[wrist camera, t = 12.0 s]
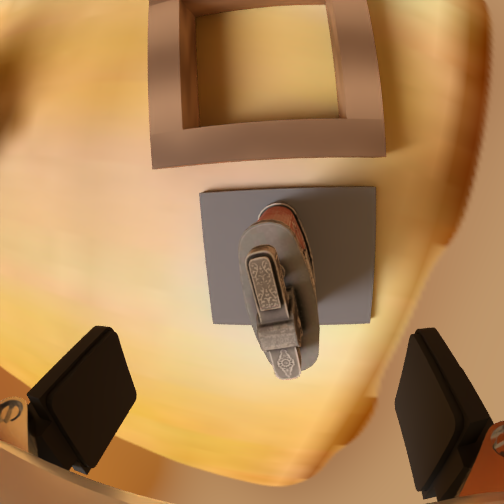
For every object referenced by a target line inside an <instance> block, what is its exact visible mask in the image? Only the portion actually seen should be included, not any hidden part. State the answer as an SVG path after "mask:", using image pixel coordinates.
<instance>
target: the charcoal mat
mask: <svg viewBox="0 0 504 504" xmlns="http://www.w3.org/2000/svg"><path fill="white" fill-rule="evenodd" d="M199 196H200V207H201V218H202V229H203V239H204V249H205V258H206V267H207V276H208V285H209V294H210V302H211V310H212V318H213V324H233V325H252V324H251V322H250V319H249V316H248V314H247V311H246V306H245V301H244V296H243V291H242V286H241V281H240V270H239V257H238V244H239V240H240V238H241V236H242V234H243V233H244V231H245V230H246V229H247V228H248V227H250V226H251V225H252V224H253V223H255V222H257V221H258V216H259V214H260V212H261V211H262V210H263V208H265V207H266V206H267V205H268V204H271V203H273V202H285V203H289V204H290V205H292V206H293V207H294V208H295V210H296V211H297V213H298V215H299V218H300V220H301V222H302V225H303V227H304V229H305V231H306V235H307V238H308V241H309V245H310V248H311V252H312V257H313V264H314V272H315V287H316V295H317V305H318V317H319V325H336V324H364V323H370V317H371V307H372V295H373V281H374V264H375V240H376V187H301V188H273V189H251V190H233V191H217V192H203V193H199Z"/></svg>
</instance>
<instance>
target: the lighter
mask: <svg viewBox="0 0 504 504" xmlns="http://www.w3.org/2000/svg"><path fill="white" fill-rule="evenodd" d="M238 257H239V270H240V281H241V286H242V291H243V296H244V301H245V306H246V311H247V314H248V316H249V319H250V322H251V324H252V327H253V330H254V332H255V335H256V338H257V340H258V342H259V344H260V347H261V349H262V350H263V351H264V353H265V355H266V357H267V359H268V361H269V362H270V363H271V364H272V366H273V369H274V372H275V374H276V376H277V377H278V378H279V379H282V380H289V379H294V378H297V377H299V376H300V374H301V371H303V370H306V369H307V368H309V367H311V366H312V365H313V364H314V363H315V362H316V360H317V357H318V353H319V329H320V328H319V317H318V305H317V295H316V287H315V272H314V264H313V257H312V252H311V248H310V245H309V241H308V238H307V235H306V231H305V229H304V227H303V225H302V222H301V220H300V218H299V215H298V213H297V211H296V210H295V208H294V207H293V206H292V205H290V204H289V203H285V202H273V203H271V204H268V205H267V206H266V207H265V208H263V210H262V211H261V212H260V214H259V216H258V221H257V222H255V223H253V224H252V225H251V226H250V227H248V228H247V229H246V230H245V231H244V233H243V234H242V236H241V238H240V240H239V244H238Z"/></svg>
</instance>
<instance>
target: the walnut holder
mask: <svg viewBox="0 0 504 504" xmlns="http://www.w3.org/2000/svg"><path fill="white" fill-rule="evenodd" d="M312 4H326V10H327V16H328V23H329V29H330V36H331V44H332V51H333V59H334V68H335V77H336V86H337V97H338V108H339V119H293V120H273V121H258V122H246V123H235V124H225V125H216V126H207V127H200V121H199V103H198V83H197V59H196V26H195V17H199V16H204V15H209V14H215V13H221V12H227V11H234V10H241V9H250V8H259V7H270V6H284V5H312ZM148 99H149V123H150V141H151V156H152V169H162V168H174V167H183V166H192V165H202V164H213V163H224V162H237V161H252V160H269V159H290V158H327V157H369V158H374V157H386V143H385V127H384V114H383V103H382V93H381V84H380V76H379V68H378V61H377V54H376V48H375V42H374V36H373V30H372V25H371V19H370V14H369V10H368V5H367V0H149V17H148Z"/></svg>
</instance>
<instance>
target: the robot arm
mask: <svg viewBox="0 0 504 504" xmlns="http://www.w3.org/2000/svg"><path fill="white" fill-rule="evenodd" d="M27 396H28V398H29V399H30V403H29V405H28V404H27V403H26V401H25V400H24V399H22V398H20V397H9V398H6V399H4V400H2V401H0V504H173V503H169V502H164V501H160V500H156V499H152V498H148V497H144V496H141V495H137V494H134V493H130V492H127V491H123V490H120V489H117V488H114V487H110V486H108V485H104V484H102V483H99V482H96V481H93V480H91V479H88V478H85V477H83V476H80V475H77V474H75V473H73V472H70V468H71V467H73V468H74V470H76V471H79V472H81V473H84V474H86V475H87V474H88V473H89V471H90V469H91V468H94V467H95V466H96V465H97V463H98V462H99V460H100V458H101V457H102V455H103V453H104V452H105V450H106V448H107V446H108V445H109V443H110V442H111V440H112V438H113V437H114V435H115V433H116V432H117V430H118V429H119V427H120V425H121V424H122V422H123V420H124V419H125V417H126V415H127V414H128V412H129V410H130V409H131V407H132V406H133V404H134V402H135V400H136V390H135V387H134V384H133V381H132V378H131V375H130V373H129V370H128V367H127V363H126V360H125V357H124V354H123V351H122V348H121V344H120V341H119V338H118V335H117V333H116V332H114V330H113V329H112V328H111V327H104V326H95V327H93V328H92V329H91V330H90V331H89V332H88V333H87V334H86V335H85V336H84V337H83V338H82V339H81V340H80V341H79V342H78V343H77V344H76V345H75V346H74V347H73V348H72V349H71V350H70V351H69V352H68V353H67V354H65V355H64V356H63V357H62V358H61V359H60V360H59V361H58V362H57V363H56V364H55V365H54V366H53V367H52V368H51V369H50V370H49V371H48V373H47V374H46V375H45V376H44V377H43V378H42V379H41V380H40V381H39V382H38V383H37V384H36V385H35V386H34V387H33V388H32V389H31V390H30V391H29V392H28V393H27ZM395 410H396V413H397V417H398V420H399V424H400V427H401V431H402V435H403V438H404V442H405V446H406V450H407V454H408V458H409V462H410V466H411V470H412V474H413V478H414V483H415V487H416V489H417V491H422V495H423V499H428V498H432V497H437V501H438V502H433V503H427V504H504V421H500V422H498V423H495V424H494V423H493V421H492V419H491V418H490V416H489V414H488V412H487V410H486V408H485V407H484V405H483V403H482V401H481V400H480V398H479V396H478V394H477V392H476V391H475V389H474V387H473V386H472V384H471V382H470V381H469V379H468V377H467V376H466V374H465V372H464V371H463V369H462V368H461V367H460V366H459V364H458V362H457V361H456V359H455V357H454V356H453V355H452V353H451V351H450V350H449V348H448V346H447V345H446V343H445V342H444V340H443V339H442V337H441V336H440V334H439V333H438V331H437V330H436V329H435V328H424V329H417V330H416V332H415V334H411V336H410V338H409V343H408V348H407V353H406V357H405V362H404V366H403V371H402V375H401V379H400V383H399V387H398V391H397V395H396V398H395Z"/></svg>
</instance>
